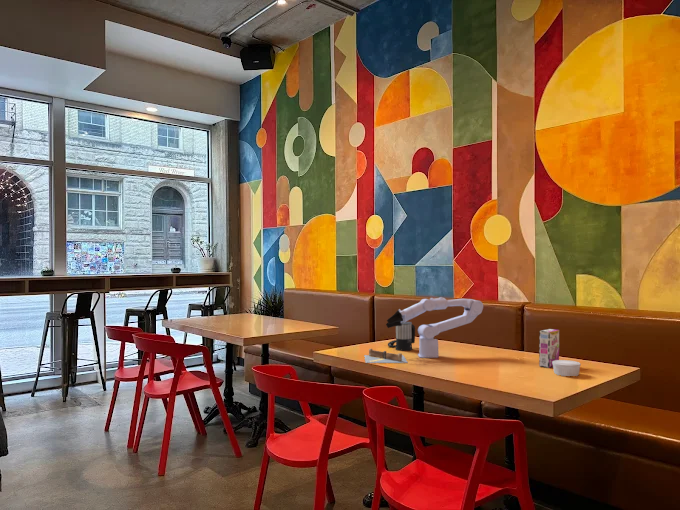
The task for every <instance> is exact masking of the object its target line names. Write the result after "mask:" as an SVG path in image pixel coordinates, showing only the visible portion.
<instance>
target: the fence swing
mask: <svg viewBox="0 0 680 510" xmlns="http://www.w3.org/2000/svg"><path fill="white" fill-rule="evenodd" d="M402 355H403V354H402V353H391V352H386V359H392V360H398V361H402Z"/></svg>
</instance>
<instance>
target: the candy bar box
mask: <svg viewBox="0 0 680 510" xmlns="http://www.w3.org/2000/svg"><path fill="white" fill-rule="evenodd" d="M538 345H539V346H538V348H539V349H538V350H539V351H538V354H539V357H538V360H539V361H538V364H539V365H538V367H540V368H545V369H550V368H553V364H552V361H555V360H560V329H555V328H548V329H543V330H539V344H538Z"/></svg>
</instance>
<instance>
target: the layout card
mask: <svg viewBox="0 0 680 510" xmlns="http://www.w3.org/2000/svg"><path fill="white" fill-rule="evenodd" d="M363 356H364V357H365V358H364V361H365V364H408V361H407V359H406V357H405V356H404V355H403V354H402V361H398V360H392V359H384V358H381V357H375V356H369V354H368V355H367V354H365V355H363Z"/></svg>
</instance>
